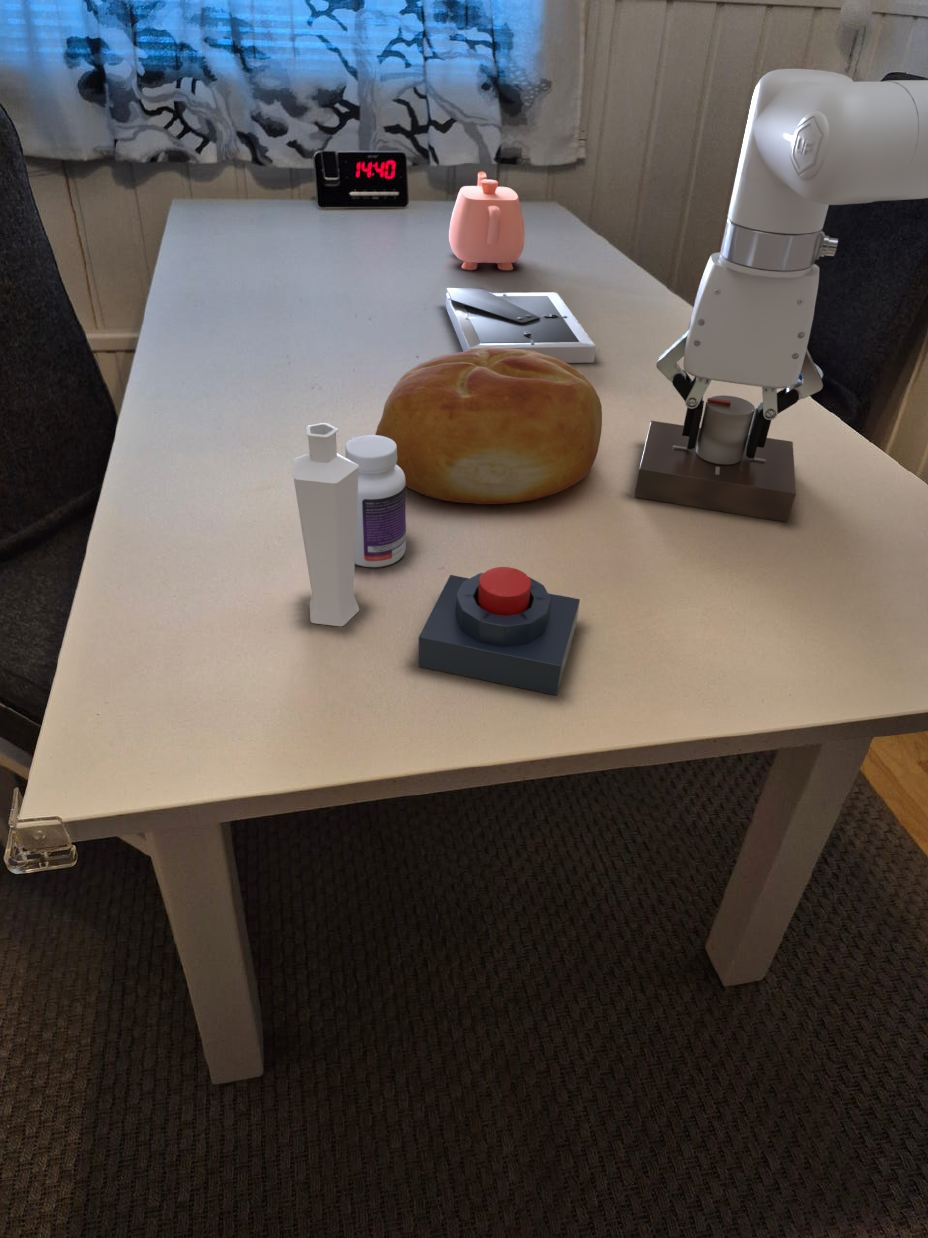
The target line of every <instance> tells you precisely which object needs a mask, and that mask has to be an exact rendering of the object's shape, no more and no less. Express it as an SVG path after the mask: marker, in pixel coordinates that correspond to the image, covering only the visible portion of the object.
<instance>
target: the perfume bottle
mask: <svg viewBox="0 0 928 1238" xmlns="http://www.w3.org/2000/svg"><path fill="white" fill-rule="evenodd" d="M338 431H339V429H338V428H337V427H335V426H334V425H332V424H331V423H328V422H320V423H314V424H309V425H306V426H305V434H306V436H307V439H308V450H309V451H308V452H309V453H306V454H303V455H300V456H298V457H295V458H293V460H292V467H293V468H292V473H293V476H292V477H293V483H294V490H295V495H296V500H297V502H296V503H297V508H298V515H299V521H300V528H301V533H302V539H303V546H304V553H305V558H306V564H307V571H308V578H309V584H310V591H311V595H310V602H309V620H310V621H309V622H310V623H312V624H318V625H325V626H334V627H344V626H345V625H347V623H348V622H349V621H350V620H351V619H353V617H355V616H356V615H357V613H359V611H360V608H359V605H358V602H357V600H356V597H355V594H354V589H355V588H354V587H355V567H356V564H355V544H356V521H357V497H358V474H359V465H358V464H356V463H354V462H352V461H350V460H349V459H347V458H346V456H343V455H342V454H339V453H338V447H337V446H338V445H337V444H338V443H337V433H338Z"/></svg>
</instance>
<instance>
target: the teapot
mask: <svg viewBox="0 0 928 1238" xmlns="http://www.w3.org/2000/svg"><path fill="white" fill-rule="evenodd" d="M525 239H526V238H525V222H524V216H523V211H522V206H521V202H520V198H519V196H518V194H517V192H516V191H515V190H514V189H512V188H511V187H507V186H499V181H498V180H496V179H495V180H494V179H488V177H487V173H486V172H485V171H482V170H481V171H479V172H478V173H477V185H464V186H462V187H461V188H460V189H459V192H458V194H457V196H456V200H455V204H454V207H453V210H452V213H451V218H450V222H449V231H448V241H449V244H450V245H449V246H450V247H451V251H452V252H453V255H455V257H456V258H457V259H458V260H460V261H462V262H463V263H462V265H461V269H463V270H467V271H473V270H477V268H478V263H487V264H489V263H490V264H491V263H492V264H493V263H495V264H497V268H498V269H499V270H501V271H512V270H513V269H514V267H513V263H516V262H518V261H519V259H520V257H521V256H522V253H523V251H524V247H525Z"/></svg>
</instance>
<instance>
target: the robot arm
mask: <svg viewBox="0 0 928 1238" xmlns="http://www.w3.org/2000/svg"><path fill="white" fill-rule="evenodd" d="M922 199H928V79H923V80H919V79H915V80H914V79H911V80H909V79H908V80H905V79H903V80H902V79H901V80H899V79H898V80H895V79H894V80H882V81H854V80H853V78H851V77H849V76H848V75H845V74H843V73H839V72H834V71H828V70H822V69H821V70H820V69H811V68H809V69H808V68H781V69H780V68H779V69H774V70H771V71H769V72H766V73H765V74H764V75H763V76H762V77H761V78H760V79H759V80H758V82H757V83H756V85H755V88H754V91H753V94H752V98H751V102H750V107H749V112H748V117H747V122H746V126H745V132H744V135H743V139H742V146H741V151H740V155H739V159H738V165H737V169H736V174H735V179H734V184H733V189H732V193H731V198H730V203H729V207H728V213H727V217H726V223H725V226H724V232H723V236H722V237H723V238H722V241H721V246H720V251H719V252H714V253H711V255H710V256H709V259H708V261H707V263H706V265H705V269H704V271H703V275H702V277H701V280H700V283H699V285H698V289H697V293H696V296H695V300H694V305H693V308H692V312H691V317H690V321H689V325H688V328H687V331H686V332H685V333H684V334H683V335H682V336H680V337H679V338H678V339H677V340H676V341H675V342H674V343H673V344H672V345H670V347H668V348H667V349H665V351H664V352H663V353H662V354H660V356H658V357H657V361H656V368H657V370H658V371H659V372H660V373H661V374H662V375H663V377H665V378H666V379H667V380H668V381H670V382H671V383H672V386H673V387H674V389H675V390H676V392H677V393H678V394H679V396H681V398H682V400H683V401H684V403H685V406H686V412H685V415H684V416H685V417H684V421H683V425H684V426H683V431H682V436H688V437H689V438H688V444H687V449H692V448H695V445H696V440H697V436H698V431H699V428H701V423H702V419H703V414H704V405H705V400H704V395H705V394H706V391H707V389H708V388H709V386H710V384H711V383H712V381H714V382H715V381H716V382H722V383H729V384H736V385H737V384H738V385H742V386H743V385H745V386H752V387H759V388H761V390H762V391H761V392H762V394H761V395H762V402H760V403H759V405H758V406H757V408H756V407H755V412H754V415H753V419H752V423H751V427H750V431H749V436H748V440H747V445H746V456H747V457H748V458H751V459H754V456H755V453H756V449H757V447H761V448H764V446H765V442H766V438H768V434H769V431H770V427H771V423H772V420H775V419H776V418H777V416H778V415H779V414H780V413H782V412H783V411H785V410H788V409H789V408H790V407H792V406H793V405H796V404H797V403H798V401H801V400H802V399H805V398H808V397H810V396H812V395H814V394H816V393H818V392H820V391H821V390H822V389H823V387H824V384H823V383H824V382H823V377H822V376H821V374H820V372H819V369H818V368H817V366H816V363H815V362H814V359H813V357H812V356H811V354H810V352H809V350H808V344H809V340H810V335H811V332H812V331H811V330H812V327H813V321H814V316H815V307H816V302H817V295H818V290H819V282H820V267H819V266H818V265H817V264H816V263H815V262H816V261H818V260H819V259H820V258H824V257H825V256H827V257H828V256H829V257H834V256H835V254H836V253H837V252H836V251H837V250H838V249H837V248H838V244H839V238H835V237H830V235H826V234H825V231H823V228H824V225H825V221H826V217H827V214H828V210H829V206H843V205H854V204H855V205H857V204H858V205H859V204H869V203H873V202H884V201H885V202H887V201H903V200H904V201H905V200H906V201H907V200H922ZM682 358H683V363H682V366H683V368H682V367H681V366H680V365H679V364H678V362H679V361H681V359H682ZM800 375H801V377H802V378H801V380H799V381H798V379H799V378H800ZM690 376H692V377H693V378H691V377H690ZM778 389H781V390H779V391H778Z"/></svg>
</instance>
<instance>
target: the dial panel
mask: <svg viewBox="0 0 928 1238" xmlns="http://www.w3.org/2000/svg"><path fill="white" fill-rule="evenodd" d="M683 426H684V424H678V423H671V422H670V423H669V422H663V421H658V420H657V421H655V420H650V422H649V426H648V431H647V435H646V439H645V444H644V447H643V452H642V456H641V460H640V464H639V467H638V473H637V478H636V485H635V491H634V495H633V497H634V498H638V499H644V500H649V501H650V500H651V501H656V502H662V503H668V504H674V505H681V506H686V507H693V508H700V509H705V510H711V511H716V512H721V513H729V514H735V515H741V516H747V517H753V518H759V519H765V520H771V521H777V522H782V523H788V521H789V518H790V515H791V512H792V508H793V506H794V502H795V499H796V496H797V489H796V471H795V455H794V442H793V441H792V440H784V439H777V438H772V437H767V438H766V442H765V446H764V448H761V447H757V449H756V453H755V456H754V459H751V458H748V457H747V456H746V446H745V450H744V454H743V458H742V460H741V461H740V462H738V463H735V464H729V465H723V464H716V463H711V462H708V461H706V460H704V459H702V458H701V457H699V456H698V455H697V453H696V446H697V442H698V437H699V433H700V428H701V427H699V431H698V436H697V440H696V445H695V448H692V449H687V444H688V438H689V437H688V436H682V431H683ZM748 436H749V435H748ZM747 440H748V439H747ZM746 445H747V442H746Z"/></svg>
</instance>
